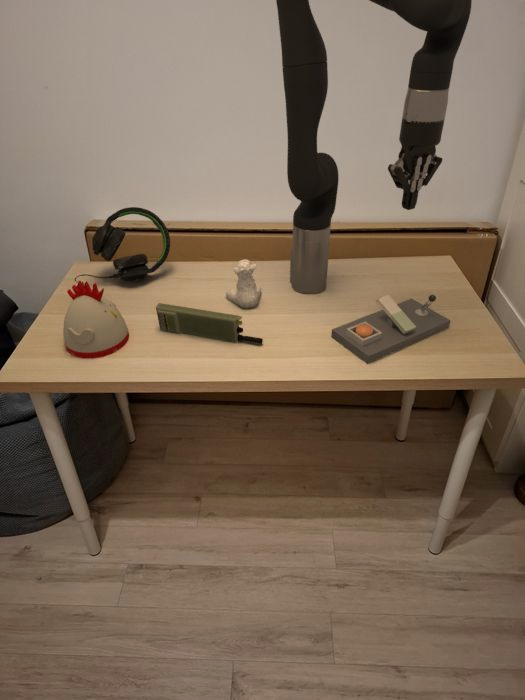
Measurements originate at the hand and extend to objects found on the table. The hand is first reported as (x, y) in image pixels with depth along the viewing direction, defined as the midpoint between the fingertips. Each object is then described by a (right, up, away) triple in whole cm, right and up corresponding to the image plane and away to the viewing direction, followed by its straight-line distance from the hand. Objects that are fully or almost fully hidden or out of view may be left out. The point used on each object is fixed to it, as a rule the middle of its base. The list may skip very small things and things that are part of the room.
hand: (408, 208), depth 98 cm
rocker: (0, -21, +9) cm, 23 cm away
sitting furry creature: (-34, -17, +24) cm, 45 cm away
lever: (+8, -20, +14) cm, 26 cm away
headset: (-67, -11, +33) cm, 75 cm away
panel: (0, -25, +12) cm, 28 cm away
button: (-8, -26, +7) cm, 28 cm away
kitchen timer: (-67, -27, +11) cm, 73 cm away
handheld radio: (-42, -26, +12) cm, 51 cm away
